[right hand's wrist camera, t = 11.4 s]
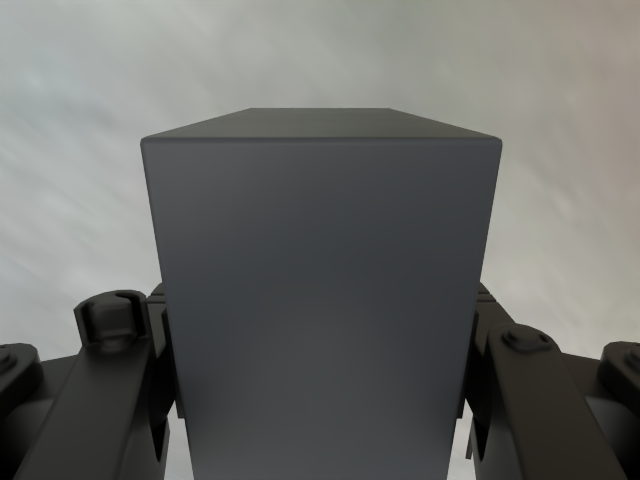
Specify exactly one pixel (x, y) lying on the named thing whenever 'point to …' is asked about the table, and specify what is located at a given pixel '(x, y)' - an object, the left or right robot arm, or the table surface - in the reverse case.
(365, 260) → the beam
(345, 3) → the table surface
